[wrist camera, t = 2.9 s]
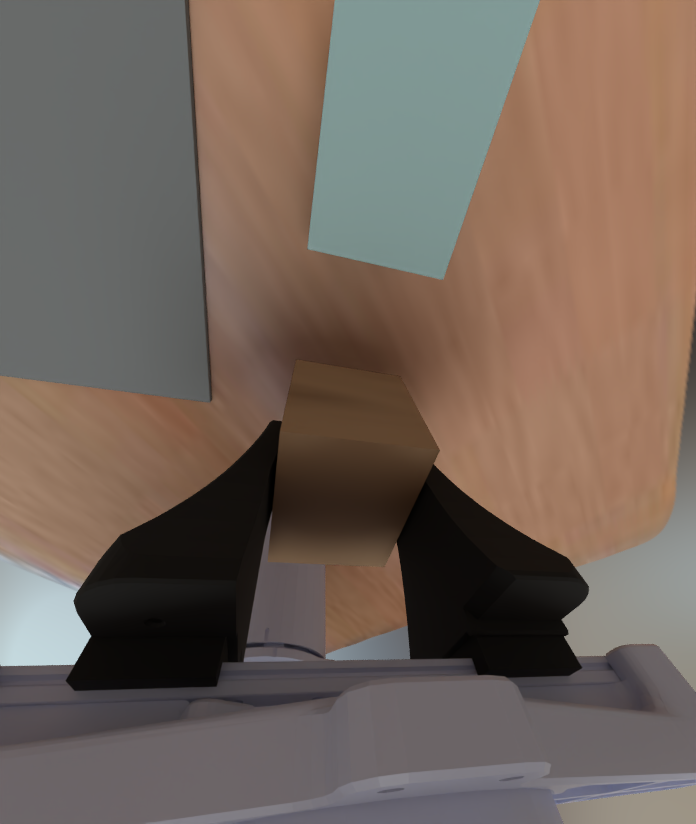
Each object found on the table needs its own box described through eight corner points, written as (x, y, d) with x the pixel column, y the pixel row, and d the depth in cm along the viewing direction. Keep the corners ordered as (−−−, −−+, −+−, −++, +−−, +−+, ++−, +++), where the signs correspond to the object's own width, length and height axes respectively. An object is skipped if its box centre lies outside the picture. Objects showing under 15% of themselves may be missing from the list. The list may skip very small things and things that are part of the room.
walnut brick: (367, 475, 15) (384, 567, 11) (283, 467, 15) (267, 562, 10) (400, 376, 12) (439, 450, 8) (296, 359, 12) (279, 431, 7)
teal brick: (406, 265, 14) (442, 279, 9) (313, 243, 13) (307, 249, 9) (455, 87, 10) (543, -10, 6) (336, 45, 10) (345, -98, 6)
